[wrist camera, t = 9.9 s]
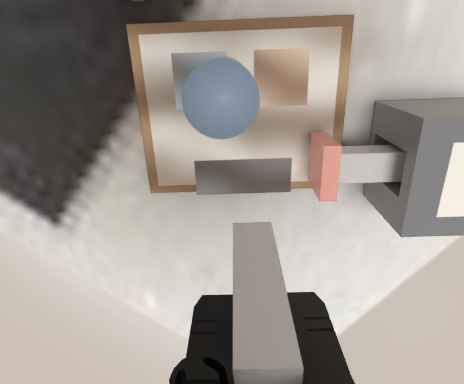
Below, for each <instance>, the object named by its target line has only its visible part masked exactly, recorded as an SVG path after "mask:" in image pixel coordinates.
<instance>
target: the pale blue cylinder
mask: <svg viewBox="0 0 464 384" xmlns="http://www.w3.org/2000/svg"><path fill="white" fill-rule="evenodd" d="M259 105H260V94H259V89H258V86H257V83H256V81H255V79H254V78H253V76H252V75H251V73H250V72H249V71H248V70H247V68H246V67H244V66H243V65H242V63H240V62H239V61H238V60H236V59H234V58H231V57H220V58H215V59H211V60H209V61H206V62H204V63H202V64H200V65H199V66H197V67H196V68H195V69H194V70H193V71H192V72H191V73H190V75H189V76H188V77H187V79H186V81H185V84H184V86H183V91H182V106H183V110H184V113H185V116H186V118H187V120H188V121H189V123H190V124H191V125H192V126H193V127H194V128H195V129H196V130H197V131H198V132H200V133H201V134H203V135H205V136H207V137H210V138H214V139H229V138H233V137H235V136H238V135H240V134H241V133H243V132H244V131H246V130H247V129H248V128H249V127H250V125H251V124H252V123H253V121H254V120H255V118H256V116H257V113H258V110H259Z"/></svg>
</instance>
